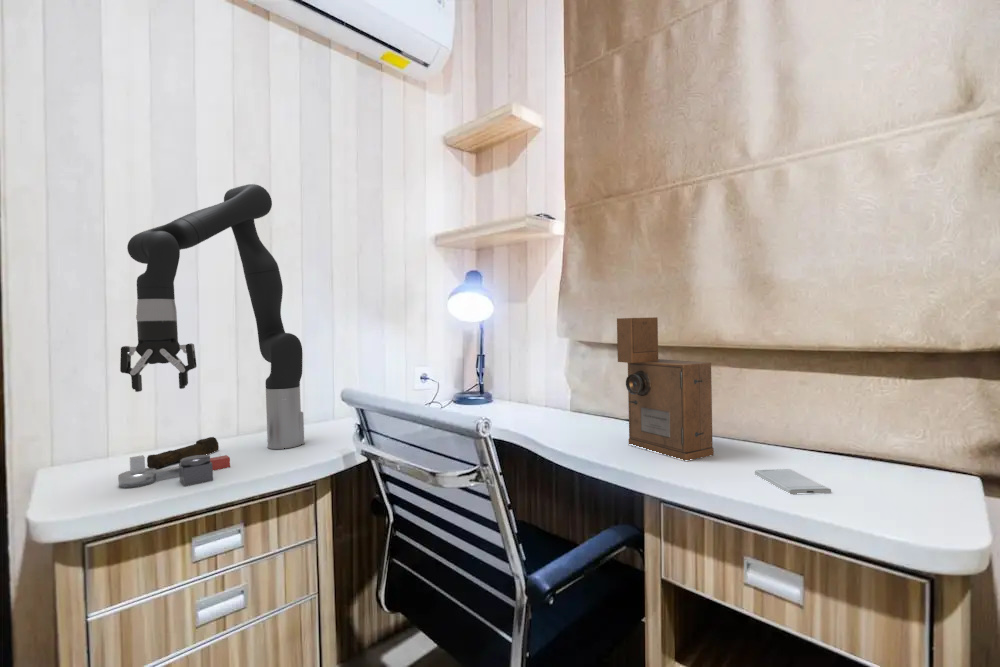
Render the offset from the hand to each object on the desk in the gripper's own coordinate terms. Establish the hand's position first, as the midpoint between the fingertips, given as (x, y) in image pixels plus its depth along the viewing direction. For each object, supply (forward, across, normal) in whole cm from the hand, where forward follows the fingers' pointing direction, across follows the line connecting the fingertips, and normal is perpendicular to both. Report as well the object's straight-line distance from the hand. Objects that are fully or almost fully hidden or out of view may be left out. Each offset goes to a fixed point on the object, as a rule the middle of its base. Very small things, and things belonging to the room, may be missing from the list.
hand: (160, 389), depth 112 cm
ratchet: (+21, -2, -3) cm, 21 cm away
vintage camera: (+22, -119, +27) cm, 124 cm away
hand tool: (+22, 0, -20) cm, 29 cm away
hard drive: (+22, -124, +59) cm, 140 cm away
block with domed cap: (+21, -7, +3) cm, 22 cm away
